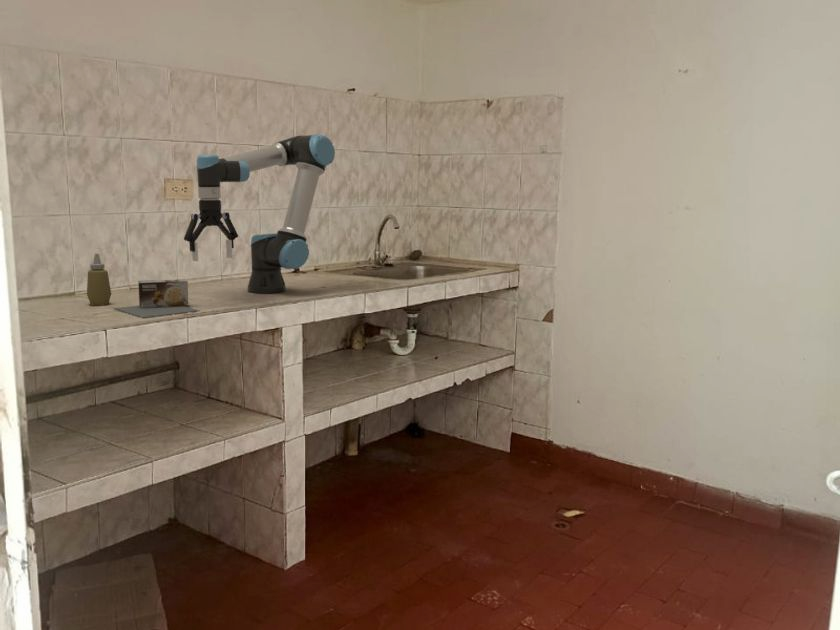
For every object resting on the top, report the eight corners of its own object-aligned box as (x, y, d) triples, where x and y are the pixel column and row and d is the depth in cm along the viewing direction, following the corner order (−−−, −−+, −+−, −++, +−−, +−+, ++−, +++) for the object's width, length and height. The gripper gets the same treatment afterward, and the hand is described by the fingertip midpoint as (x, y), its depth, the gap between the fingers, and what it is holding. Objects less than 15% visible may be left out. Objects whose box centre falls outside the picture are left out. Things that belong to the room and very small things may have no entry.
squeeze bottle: (90, 307, 259) (87, 255, 256) (85, 303, 265) (81, 253, 262) (114, 305, 264) (111, 254, 260) (108, 301, 270) (105, 252, 267)
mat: (168, 303, 269) (168, 302, 269) (199, 311, 254) (199, 310, 254) (113, 309, 255) (113, 308, 255) (143, 318, 240) (143, 317, 240)
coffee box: (185, 278, 266) (137, 279, 260) (188, 280, 260) (139, 281, 254) (186, 303, 268) (138, 305, 261) (188, 306, 262) (140, 308, 255)
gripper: (182, 200, 252) (185, 263, 256) (246, 198, 269) (248, 257, 273) (171, 199, 257) (175, 261, 261) (235, 198, 274) (237, 255, 278)
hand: (212, 259), depth 267 cm, fingers open, 13 cm apart
